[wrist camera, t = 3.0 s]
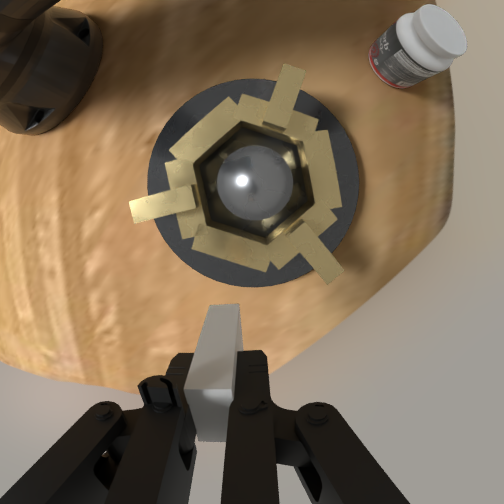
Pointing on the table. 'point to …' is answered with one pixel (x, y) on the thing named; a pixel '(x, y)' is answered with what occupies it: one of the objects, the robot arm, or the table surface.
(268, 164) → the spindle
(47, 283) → the table surface
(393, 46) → the pill bottle
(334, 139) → the hub plate
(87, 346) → the table surface
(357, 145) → the table surface
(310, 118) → the taped hex socket base
